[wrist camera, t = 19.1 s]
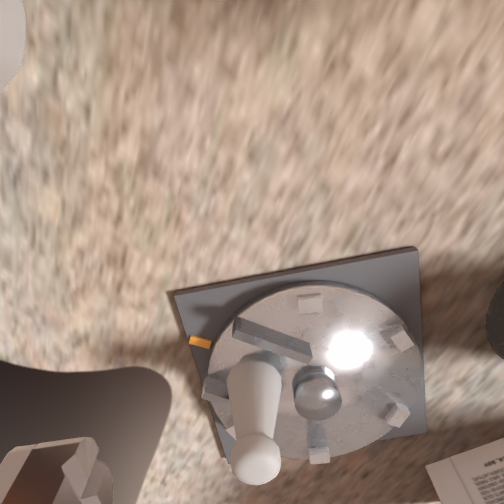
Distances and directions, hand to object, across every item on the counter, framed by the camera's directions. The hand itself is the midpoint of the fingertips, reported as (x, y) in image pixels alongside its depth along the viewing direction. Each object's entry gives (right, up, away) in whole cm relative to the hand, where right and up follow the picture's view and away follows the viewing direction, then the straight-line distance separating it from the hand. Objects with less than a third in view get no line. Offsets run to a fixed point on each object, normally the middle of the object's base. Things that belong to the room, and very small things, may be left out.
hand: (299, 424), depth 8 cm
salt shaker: (-1, -9, +38) cm, 39 cm away
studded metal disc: (+6, -11, +41) cm, 43 cm away
